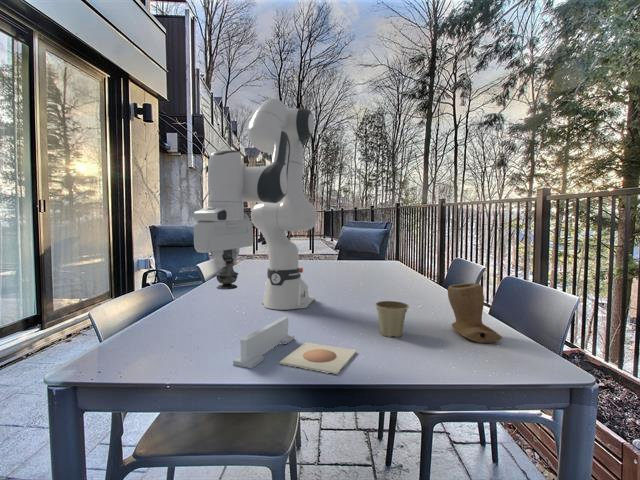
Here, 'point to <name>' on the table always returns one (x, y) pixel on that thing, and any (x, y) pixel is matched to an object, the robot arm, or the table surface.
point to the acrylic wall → (262, 343)
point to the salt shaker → (227, 272)
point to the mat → (319, 357)
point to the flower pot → (391, 317)
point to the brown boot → (470, 312)
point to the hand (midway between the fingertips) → (226, 266)
